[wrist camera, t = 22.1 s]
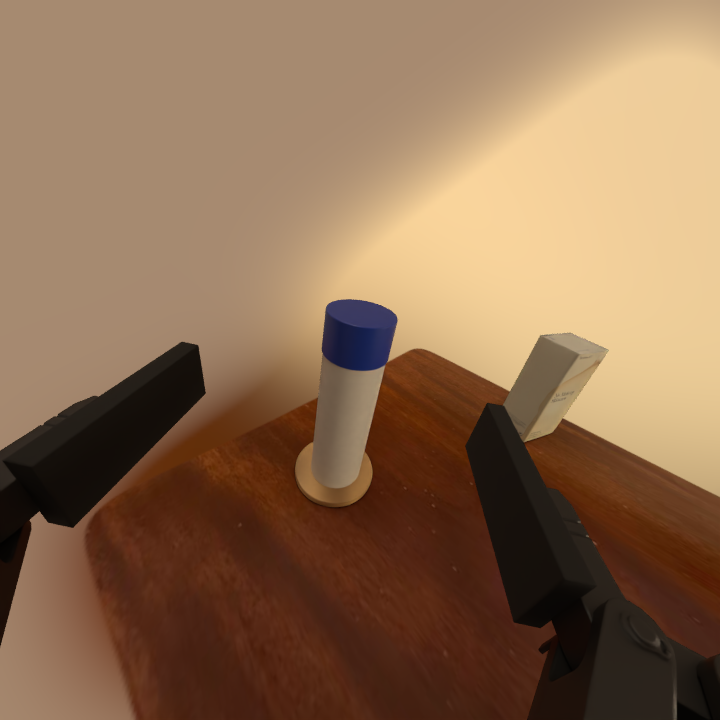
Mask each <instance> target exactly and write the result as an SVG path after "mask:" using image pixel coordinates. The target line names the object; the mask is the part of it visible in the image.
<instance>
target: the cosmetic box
mask: <svg viewBox="0 0 720 720" xmlns="http://www.w3.org/2000/svg"><path fill="white" fill-rule="evenodd" d="M608 351H609V350H608V349H606V348H604V347H601V346H599V345H597V344H594V343H592V342H590V341H588V340H586V339H583V338H581V337H578V336H576V335H574V334H572V333H563V334H550V335H541V336H540V338H539V339H538V341H537V343H536V344H535V346H534V348H533V350H532V352H531V354H530V356H529V358H528V359H527V361H526V363H525V365H524V367H523V369H522V371H521V373H520V375H519V376H518V378H517V380H516V382H515V384H514V386H513V387H512V389H511V391H510V393H509V395H508V397H507V399H506V400H505V402H504V404H503V406H505V408H506V410H507V412H508V414H509V416H510V418H511V420H512V422H513V424H514V426H515V428H516V430H517V431H518V433H519V435H520V437H521V439H522V441H523V442H526V441H529V440H532V439H535V438H538V437H541V436H544V435H547V434H550V433H552V432H553V431H554V430H555V428H556V427H557V426H558V424H559V423H560V421H561V420H562V418H563V417H564V415H565V414H566V412H567V411H568V410H569V408H570V407H571V405H572V403H573V402H574V401H575V399H576V398H577V396H578V395H579V394H580V392H581V390H582V389H583V387H584V386H585V385H586V383H587V382H588V380H589V379H590V377H591V376H592V374H593V373H594V372H595V370H596V368H597V367H598V366H599V364H600V363H601V361H602V360H603V358H604V357H605V355H606V354H607V352H608Z"/></svg>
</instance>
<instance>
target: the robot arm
mask: <svg viewBox="0 0 720 720" xmlns="http://www.w3.org/2000/svg"><path fill="white" fill-rule="evenodd" d="M205 393H206V392H205V386H204V379H203V373H202V366H201V360H200V354H199V347H198V345H195V344H190V343H185V342H181V343H179V344H178V345H176V346H175V347H173V348H172V349H170V350H169V351H167V352H166V353H164V354H163V355H161V356H160V357H158V358H156V359H155V360H154V361H152V362H150V363H149V364H147V365H146V366H144V367H143V368H141V369H140V370H138V371H137V372H135V373H134V374H132V375H131V376H130V377H128V378H126V379H125V380H123V381H122V382H120V383H119V384H118V385H116V386H114V387H113V388H111V389H110V390H108V391H107V392H105V393H104V394H102V395H101V396H99V397H98V396H92V397H90V398H87V399H85V400H83V401H80V402H77V403H75V404H73V405H72V406H70V407H68V408H67V409H65V410H64V411H62V412H61V413H59V414H58V416H57V417H53V418H51V419H50V420H48V421H46V422H45V423H44V425H42V426H41V425H40V426H38V427H37V428H35V429H34V430H32V431H31V432H29V433H27V434H26V435H24V436H23V437H21V438H19V439H18V440H16V441H15V442H13V443H12V444H10V445H8V446H7V447H5V448H4V449H2V450H1V451H0V645H1V642H2V638H3V634H4V631H5V627H6V623H7V619H8V616H9V611H10V608H11V604H12V600H13V596H14V593H15V589H16V585H17V582H18V578H19V574H20V570H21V566H22V563H23V559H24V555H25V551H26V548H27V544H28V540H29V536H30V532H31V522H30V521H29V520H30V519H31V518H32V517H33V516H34V515H35V514H37V513H38V512H39V511H40V512H41V514H42V515H43V516H44V518H45V519H46V520H47V522H48V523H53V524H57V525H62V526H67V527H71V528H73V527H74V526H75V525H76V524H77V523H78V522H79V521H80V520H81V519H82V518H83V517H84V516H85V515H86V514H87V513H88V512H89V511H90V510H91V509H92V508H93V507H94V506H95V505H96V504H97V503H98V502H99V501H100V500H101V499H102V498H103V497H104V496H105V495H106V494H107V493H108V492H109V491H110V490H111V489H112V488H113V487H114V486H115V485H116V484H117V483H118V482H119V481H120V479H122V478H123V476H125V475H126V474H127V473H128V471H130V470H131V469H132V467H133V466H134V465H135V464H136V463H137V462H138V461H139V460H140V459H141V458H142V457H143V456H144V455H145V454H146V453H147V452H148V451H149V450H150V449H151V448H152V447H153V446H154V445H155V444H156V443H157V442H158V441H159V440H160V439H161V438H162V437H163V436H164V435H165V434H166V433H167V432H168V431H169V430H170V429H171V428H172V427H173V426H174V425H175V424H176V423H177V422H178V421H179V420H180V419H181V418H182V417H183V416H184V415H185V414H186V413H187V412H188V411H189V410H190V409H191V408H192V407H193V406H194V405H195V404H196V403H197V402H198V401H199V400H200V399H201V398H202V397H203V396H204V395H205ZM465 447H466V450H467V454H468V458H469V461H470V465H471V468H472V472H473V476H474V479H475V483H476V487H477V490H478V494H479V497H480V501H481V505H482V508H483V512H484V516H485V519H486V523H487V526H488V530H489V534H490V537H491V541H492V545H493V548H494V552H495V556H496V559H497V563H498V566H499V570H500V574H501V577H502V581H503V585H504V588H505V592H506V595H507V599H508V603H509V606H510V610H511V614H512V617H513V621H514V623H519V624H524V625H528V626H533V627H538V628H541V627H543V626H544V625H545V624H547V623H548V622H549V621H551V620H552V623H553V625H554V628H555V631H556V634H557V635H555V636H554V637H552V638H551V639H549V640H548V641H546V642H545V643H543V644H542V645H541V647H540V648H539V651H540V652H541V653H542V654H543V653H545V652H546V651H548V650H549V651H548V654H547V658H546V661H545V664H544V667H543V671H542V674H541V677H540V680H539V683H538V687H537V690H536V693H535V696H534V699H533V703H532V706H531V709H530V712H529V716H528V719H527V720H720V654H717V655H715V656H712V657H710V658H705V657H703V656H701V655H700V654H698V653H696V652H694V651H692V650H690V649H688V648H687V647H685V646H683V645H681V644H679V643H677V642H675V641H674V640H672V639H670V638H668V637H666V635H665V634H664V633H663V631H662V630H661V629H660V628H659V626H658V625H657V624H656V623H655V621H654V620H653V619H652V618H651V617H649V616H648V615H647V614H646V613H645V612H644V611H643V610H642V609H641V608H639V607H637V606H636V605H634V604H633V603H631V602H630V601H628V600H626V599H625V597H624V596H623V594H622V593H621V591H620V589H619V587H618V586H617V584H616V582H615V580H614V579H613V577H612V575H611V573H610V572H609V570H608V568H607V566H606V565H605V563H604V561H603V559H602V558H601V556H600V554H599V552H598V551H597V549H596V547H595V545H594V544H593V542H592V540H591V539H590V538H589V537H588V533H587V531H586V530H585V528H584V526H583V525H582V524H581V523H580V522H581V521H580V519H579V517H578V516H577V514H576V512H575V510H574V508H573V507H572V505H571V504H570V503H569V502H568V501H567V499H566V498H565V497H564V496H563V495H562V494H561V493H560V492H559V491H558V490H556V489H551V488H546V486H545V484H544V482H543V480H542V478H541V476H540V474H539V472H538V470H537V468H536V466H535V464H534V462H533V460H532V459H531V457H530V455H529V453H528V451H527V449H526V447H525V445H524V443H523V441H522V439H521V437H520V435H519V433H518V431H517V430H516V428H515V426H514V424H513V422H512V420H511V418H510V416H509V414H508V412H507V410H506V408H505V406H501V405H496V404H491V403H487V404H486V406H485V408H484V410H483V412H482V414H481V416H480V418H479V420H478V422H477V424H476V426H475V428H474V430H473V432H472V434H471V436H470V438H469V440H468V442H467V444H466V446H465Z"/></svg>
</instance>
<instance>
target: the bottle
mask: <svg viewBox="0 0 720 720" xmlns="http://www.w3.org/2000/svg"><path fill="white" fill-rule="evenodd" d="M396 325H397V316H396V315H395V314H394V313H393V312H392V311H391V310H389V309H387V308H385V307H383V306H381V305H378V304H375V303H371V302H367V301H362V300H351V299H348V300H337V301H334V302H331V303H329V304H328V305H327V307H326V312H325V322H324V332H323V342H322V352H323V356H322V366H321V376H320V385H319V396H318V404H317V414H316V423H315V433H314V443H313V452H312V462H311V470H312V474H313V476H314V477H315V479H316V480H317V481H318V482H319V483H321V484H322V485H324V486H326V487H330V488H343V487H346V486H348V485H350V484H352V483H353V482H354V481H355V480H356V478H357V477H358V475H359V471H360V467H361V463H362V459H363V454H364V450H365V446H366V442H367V438H368V434H369V430H370V426H371V421H372V417H373V413H374V409H375V405H376V401H377V397H378V392H379V388H380V384H381V380H382V376H383V372H384V368H385V364H386V363H387V361H388V357H389V353H390V349H391V345H392V341H393V337H394V333H395V328H396Z"/></svg>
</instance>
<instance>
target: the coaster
mask: <svg viewBox="0 0 720 720" xmlns="http://www.w3.org/2000/svg"><path fill="white" fill-rule="evenodd" d="M313 443H314V442H312V443H310V444H309V445H308V446H306V447H305V448H304V449H303V450H302V452H301V453H300V454H299V456H298V458H297V461H296V465H295V478H296V482H297V485H298V487H299V488H300V490H301V492H302V493H303V494H304V495H305V496H306V497H307V498H308V499H310V500H311V501H313V502H315V503H317V504H319V505H322V506H327V507H342V506H347V505H350V504H352V503H354V502H356V501H357V500H359V499H360V498H361V497H362V496H363V495H364V494H365V493H366V492H367V490H368V488H369V486H370V483H371V479H372V465H371V462H370V459H369V457H368V456H367V454H366V453H365V452H364V454H363V459H362V463H361V467H360V471H359V475H358V477H357V478H356V480H355V481H354V482H353V483H352V484H350V485H348V486H346V487H343V488H330V487H326V486H324V485H322V484H321V483H319V482H318V481H317V480H316V479H315V477H314V476H313V474H312V470H311V462H312V452H313Z"/></svg>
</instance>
